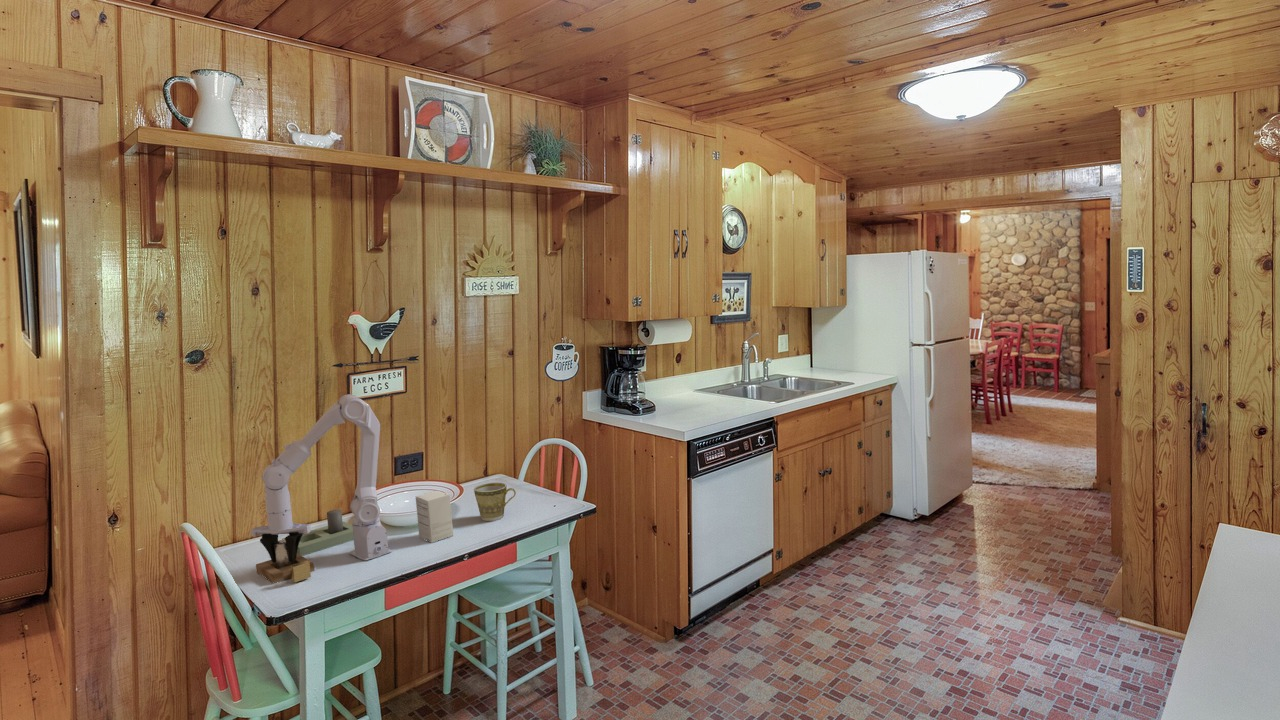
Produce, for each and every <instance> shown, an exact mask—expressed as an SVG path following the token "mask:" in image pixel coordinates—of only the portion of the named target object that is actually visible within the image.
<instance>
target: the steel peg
mask: <svg viewBox="0 0 1280 720" xmlns="http://www.w3.org/2000/svg"><path fill="white" fill-rule="evenodd" d="M274 549H275V559H276V568H277V569H281V568H284V567H287V566H290V565H293V562H290V559H289V550H288V546H287V543H286V540H282V539H281V540H278V541H277V542H275V543H274Z"/></svg>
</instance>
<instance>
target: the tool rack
mask: <svg viewBox="0 0 1280 720" xmlns="http://www.w3.org/2000/svg"><path fill="white" fill-rule="evenodd" d="M326 521H327V525H326V526H323V527H318V528H315V529H311V531H310V532H309V533H308V534H304V533H303V535H302V537H301V540H300V542H299V545H298V550H297V554H299V555H301V556H303V557H304V556H305V555H309V554H312V553H316V552H319V551H322V550H325V549H328V548H331V547H335V546H338V545H341V544H345V543H347V542H351V541H354V537H353V527H352V523H348V522H346V521H343V514H342V510H341V509H332V510H329V511H327V512H326ZM281 540H285V537H284V538H282V539H281Z"/></svg>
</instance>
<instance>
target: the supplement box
mask: <svg viewBox="0 0 1280 720" xmlns="http://www.w3.org/2000/svg"><path fill="white" fill-rule="evenodd" d="M451 503H452V502H451V495H450V494H449V493H447V492H443V491H440V490H435V491H431V492H428V493H423V494H420V495H416V496H415V505H416V515H417V516H416V517H417V527H418V528H417V529H418V537H419V538H420V539H421V538H422V539H421V540H423V539H425V540H427V541H426V542H428V541H429V543H430V542H431V543H430V544H433V543H436V542H439V541H441V540H442V541H443V540H445V539H448V538H451V537H454V527H453V516H452V504H451ZM447 537H448V538H447ZM444 538H445V539H444ZM425 540H424V541H425ZM438 540H439V541H438ZM435 541H436V542H435Z"/></svg>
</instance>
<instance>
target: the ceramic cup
mask: <svg viewBox="0 0 1280 720" xmlns="http://www.w3.org/2000/svg"><path fill="white" fill-rule="evenodd" d="M509 491H512V492H513V493H514V495H513V496H511V497H510V498H509V499H508V500H507V501H506V495H507V494H508V493H509ZM473 493H474V496H475V500H476V503H477V507H478V511H479V515H480V516H479V517H480V519H481V520H483V521H484V522H496V521H499V520H501V519H503V517H504V516H505V515H504V514H505V507H506V505H507V504H508V503H509V502H510V501H511V500H512V499H513V498H515V496H516V493H517V491H516V489H515V488H512V487H509V488H507V484H506V483H504V482H496V481H495V482H485V483H481V484H477V485H476V486H474V488H473Z"/></svg>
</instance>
